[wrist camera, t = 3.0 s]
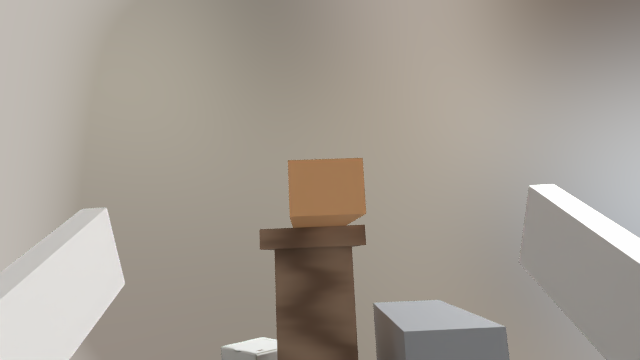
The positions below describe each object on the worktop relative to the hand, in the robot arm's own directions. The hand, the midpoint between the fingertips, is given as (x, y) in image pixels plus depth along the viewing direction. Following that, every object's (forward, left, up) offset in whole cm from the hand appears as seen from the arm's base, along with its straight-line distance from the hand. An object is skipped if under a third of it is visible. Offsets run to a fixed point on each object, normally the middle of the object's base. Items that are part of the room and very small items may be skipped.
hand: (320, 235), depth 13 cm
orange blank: (0, +21, +1) cm, 21 cm away
